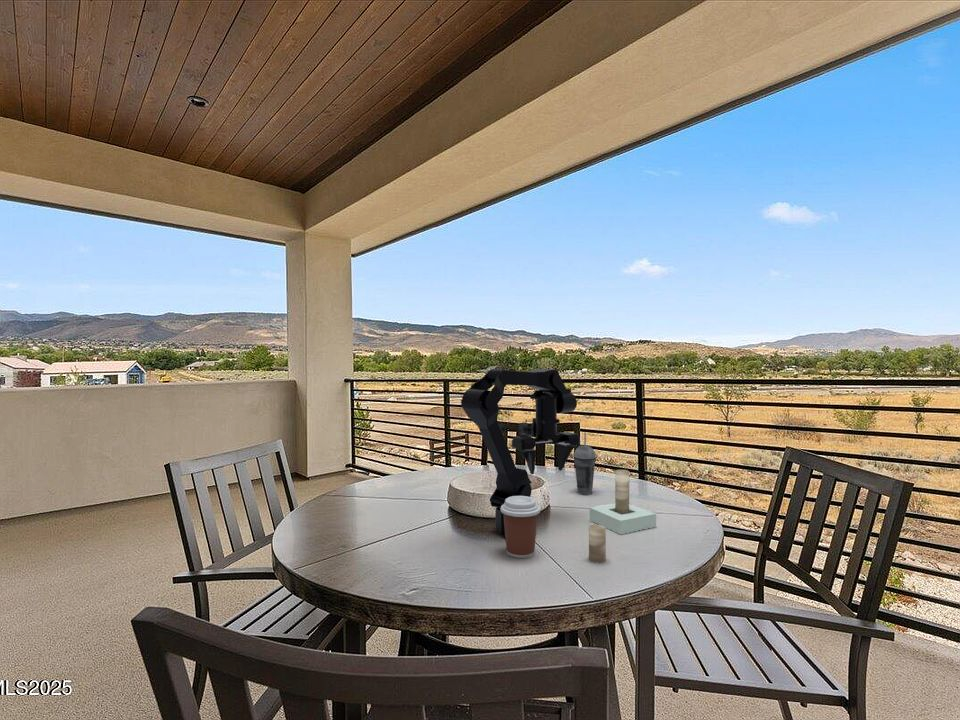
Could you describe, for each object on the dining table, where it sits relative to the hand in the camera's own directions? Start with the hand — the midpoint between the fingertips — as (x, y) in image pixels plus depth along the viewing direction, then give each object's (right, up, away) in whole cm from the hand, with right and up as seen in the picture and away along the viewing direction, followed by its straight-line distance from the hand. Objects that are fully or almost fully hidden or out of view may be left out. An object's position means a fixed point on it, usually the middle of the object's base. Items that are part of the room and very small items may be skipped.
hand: (546, 472), depth 135 cm
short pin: (+8, -13, -26) cm, 30 cm away
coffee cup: (-9, -13, -22) cm, 27 cm away
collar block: (+20, -13, -3) cm, 24 cm away
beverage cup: (+16, -13, +26) cm, 33 cm away
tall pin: (+20, -13, -3) cm, 24 cm away
